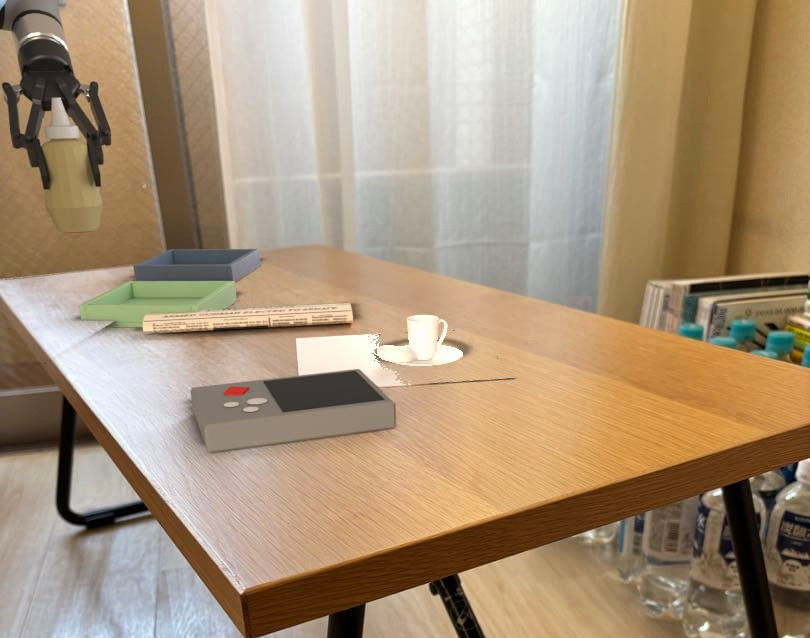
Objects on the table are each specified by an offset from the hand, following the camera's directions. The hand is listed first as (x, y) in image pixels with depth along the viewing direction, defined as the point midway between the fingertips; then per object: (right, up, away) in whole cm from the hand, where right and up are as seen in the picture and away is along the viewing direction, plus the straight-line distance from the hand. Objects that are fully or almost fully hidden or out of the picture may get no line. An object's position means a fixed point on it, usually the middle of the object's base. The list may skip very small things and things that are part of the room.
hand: (71, 181), depth 128 cm
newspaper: (+30, -26, -23) cm, 46 cm away
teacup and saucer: (+47, -33, -37) cm, 68 cm away
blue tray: (+17, -11, +7) cm, 22 cm away
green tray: (+18, -23, -17) cm, 34 cm away
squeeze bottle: (-1, -5, +6) cm, 8 cm away
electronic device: (+38, -42, -54) cm, 78 cm away
